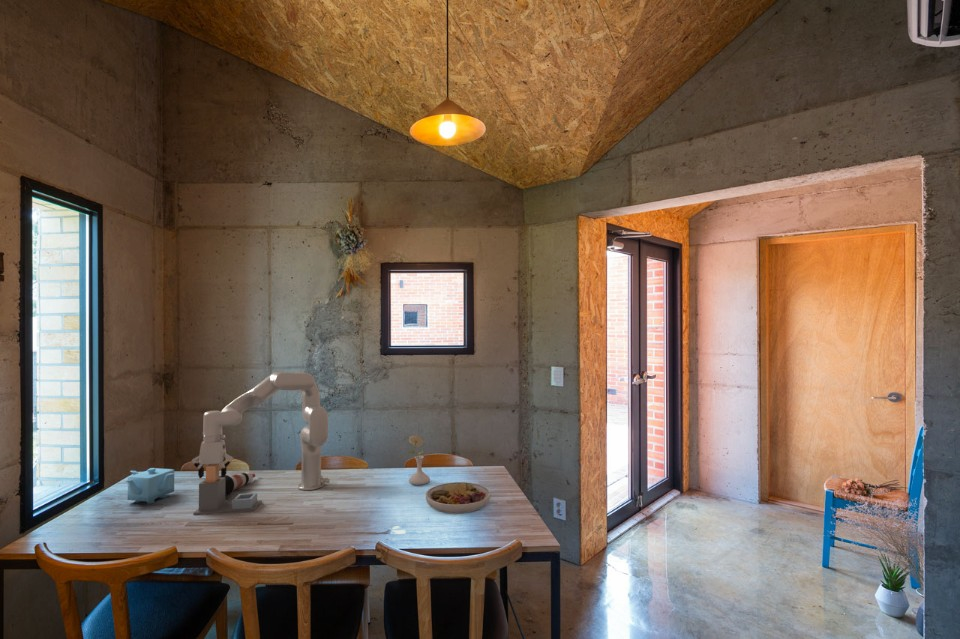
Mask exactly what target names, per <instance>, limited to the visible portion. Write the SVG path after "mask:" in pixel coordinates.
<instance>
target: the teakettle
mask: <svg viewBox="0 0 960 639" xmlns="http://www.w3.org/2000/svg"><path fill="white" fill-rule="evenodd" d="M130 473H131V474H132V475H130V476H128V477H127V479H126V480H124V483H127V501H134V503H136V504H137V503H142V502H146V504H147V505H148V504H149V505H150V504H154V503H155V502H156V501H155V500H156V499H159V498H160V499H165V498H169V496H168V494H171V493H174V492H175V469H172V468H158V467H157V468H156V467H150V468H148V469H147V470H144V471H141V472H139V473H138V471H137V470H130Z"/></svg>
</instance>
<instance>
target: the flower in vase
mask: <svg viewBox="0 0 960 639" xmlns="http://www.w3.org/2000/svg"><path fill="white" fill-rule="evenodd" d="M408 442H409V443H410V445H411V446H413V447H417V448H419V447H421V446H423V445H424V440H423V438H421V437H420V436H419V435H416V434H415V435H411V436H409V438H408ZM423 452H424V450H423V451H422V450H421V451H419V452H418V453H417V451H416V450H414V449H410V450H408V454H411V455H415V454H416V456H414V459H415V461H416V468H417V469H416V471H415V473H414V474H412V475H411V476H410V477H408V478H409V479H408V483H409V484H411V485H412V486H413V485H414V486H423V485H425V484H428V483H430V481H431V478H430V476H429V475H428V474H426V473H424V471H423V470H422V463H423V460H424V458H425V456H424V455H421V454H423Z"/></svg>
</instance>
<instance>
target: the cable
mask: <svg viewBox="0 0 960 639" xmlns="http://www.w3.org/2000/svg"><path fill="white" fill-rule="evenodd" d="M224 477H225V497H227V496H230V495H231V494H232V493H233V492H234V491H235V490H237V489H240V488H241V487H243V486H246V485H248V484H250V483H252V481H253V480H254V478H256V474H255V473H252V472H250V471H245V472H242V473H237V474H232V475H227V474H226V475H225V476H224ZM219 478H222V477H221V475H219Z"/></svg>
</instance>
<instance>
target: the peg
mask: <svg viewBox="0 0 960 639" xmlns="http://www.w3.org/2000/svg"><path fill="white" fill-rule="evenodd" d="M219 476H220V464H207V465H206V466H205V479H206V483H210V482H217V481H218V480H219Z"/></svg>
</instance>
